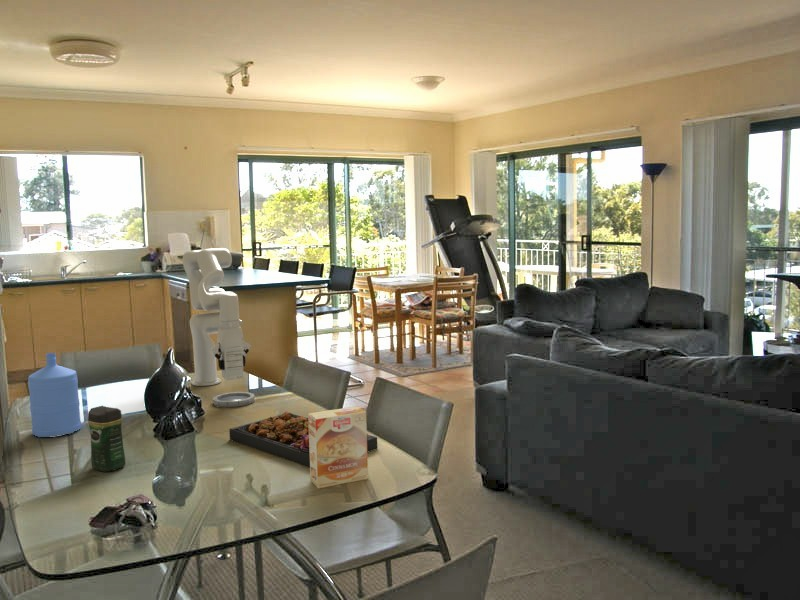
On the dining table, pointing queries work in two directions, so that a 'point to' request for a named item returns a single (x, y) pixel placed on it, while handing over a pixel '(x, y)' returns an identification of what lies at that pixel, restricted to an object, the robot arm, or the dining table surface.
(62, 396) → the water jug
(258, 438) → the food platter
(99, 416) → the coffee jar
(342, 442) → the coffeecake box
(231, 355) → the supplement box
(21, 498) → the dining table surface
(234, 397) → the saucer
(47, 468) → the dining table surface
